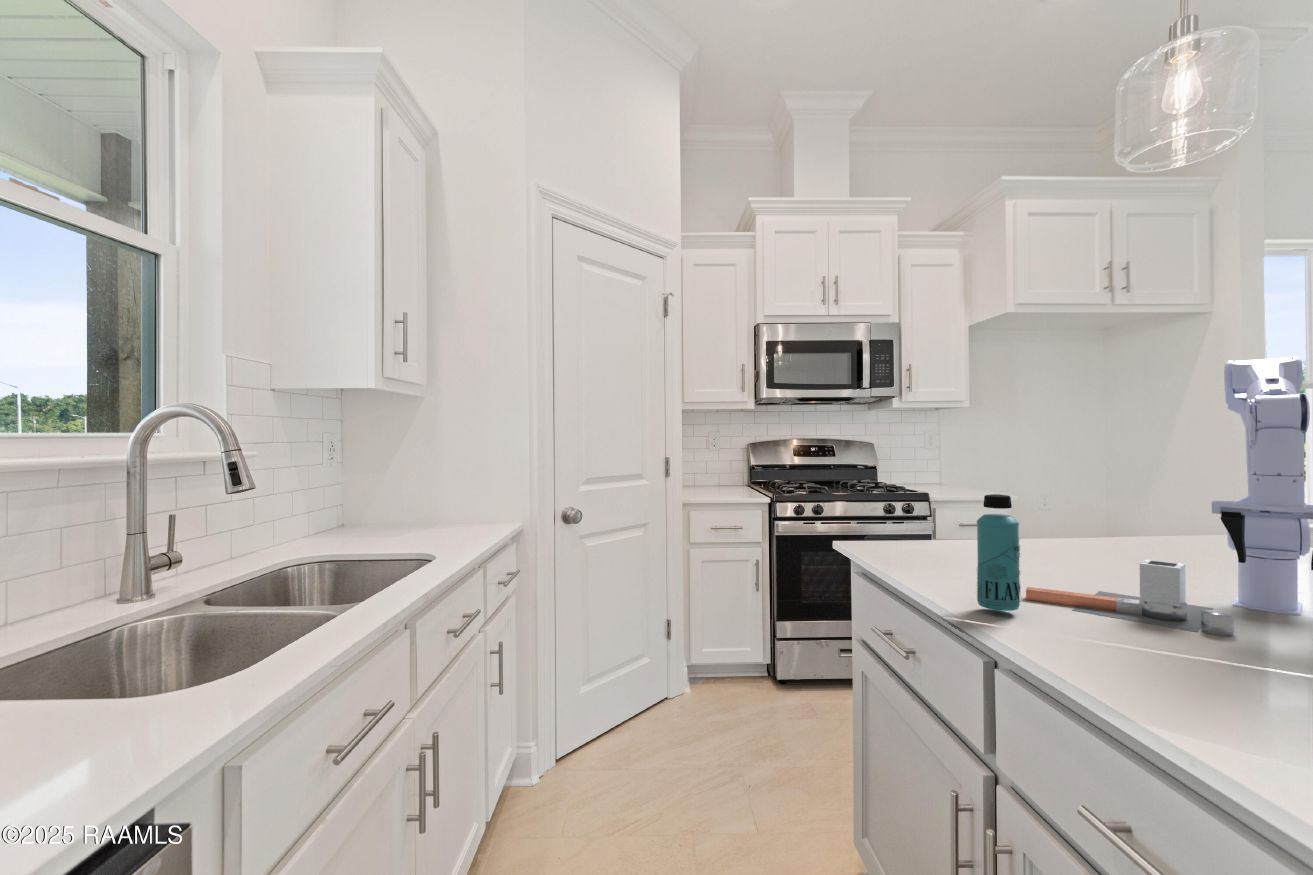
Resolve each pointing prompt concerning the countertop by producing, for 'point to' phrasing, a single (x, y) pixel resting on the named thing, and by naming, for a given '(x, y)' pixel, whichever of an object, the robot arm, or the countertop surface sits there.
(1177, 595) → the socket
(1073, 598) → the ratchet
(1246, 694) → the countertop surface
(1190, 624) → the mat
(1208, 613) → the socket
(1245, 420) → the robot arm
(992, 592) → the beverage bottle
